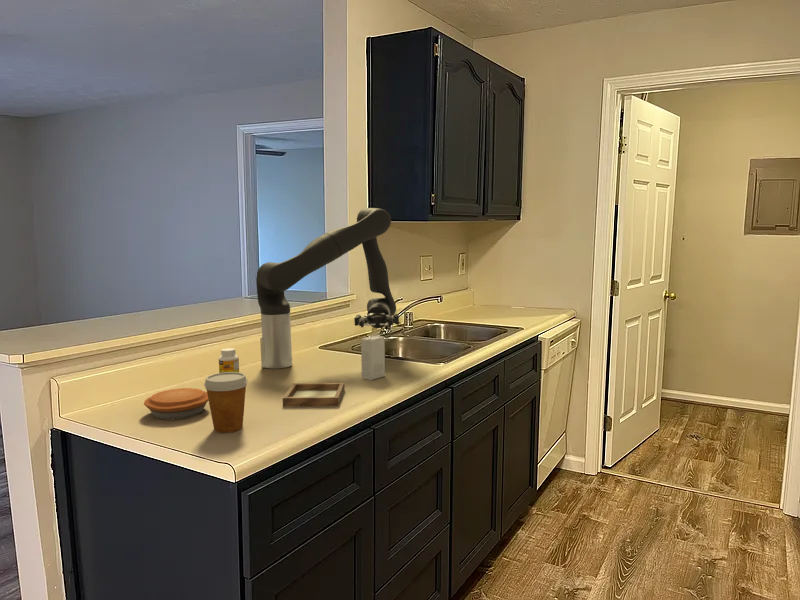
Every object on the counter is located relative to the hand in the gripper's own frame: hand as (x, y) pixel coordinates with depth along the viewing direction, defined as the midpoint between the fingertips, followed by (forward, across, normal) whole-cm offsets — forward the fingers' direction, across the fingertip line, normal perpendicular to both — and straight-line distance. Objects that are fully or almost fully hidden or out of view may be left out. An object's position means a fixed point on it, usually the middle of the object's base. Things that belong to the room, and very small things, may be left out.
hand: (375, 323), depth 193 cm
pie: (+44, -46, +13) cm, 65 cm away
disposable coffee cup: (+56, -30, +13) cm, 65 cm away
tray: (+32, -14, +14) cm, 38 cm away
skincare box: (+12, 0, +14) cm, 18 cm away
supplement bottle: (+18, -42, +14) cm, 47 cm away
